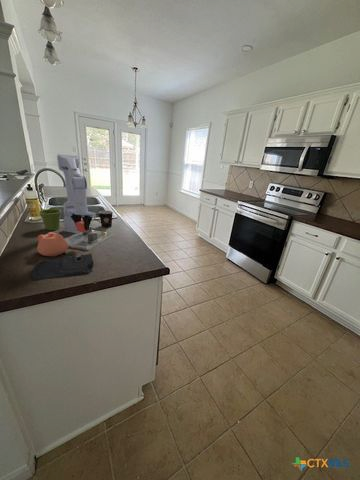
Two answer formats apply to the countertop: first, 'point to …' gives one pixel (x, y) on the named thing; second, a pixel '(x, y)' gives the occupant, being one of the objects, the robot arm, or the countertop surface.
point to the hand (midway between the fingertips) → (83, 229)
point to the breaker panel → (86, 240)
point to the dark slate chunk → (63, 267)
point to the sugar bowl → (51, 244)
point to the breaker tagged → (92, 236)
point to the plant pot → (50, 218)
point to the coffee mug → (105, 218)
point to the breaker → (87, 231)
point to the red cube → (80, 226)
